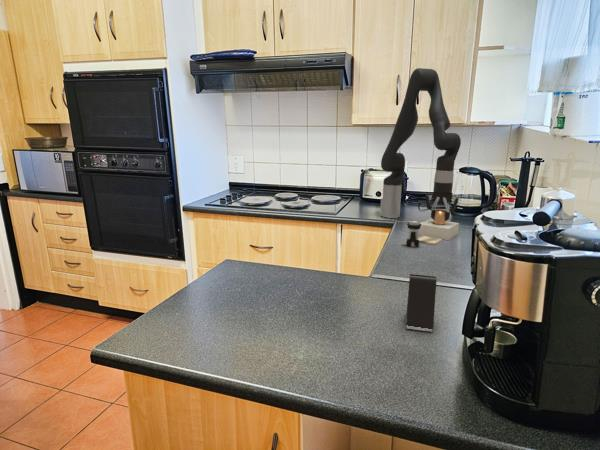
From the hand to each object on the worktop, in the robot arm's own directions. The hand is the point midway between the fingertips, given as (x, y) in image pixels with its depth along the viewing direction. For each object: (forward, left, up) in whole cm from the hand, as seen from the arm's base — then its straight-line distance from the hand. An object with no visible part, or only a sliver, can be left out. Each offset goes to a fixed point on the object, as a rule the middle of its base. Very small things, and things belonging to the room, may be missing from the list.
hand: (439, 219), depth 170 cm
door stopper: (+26, -82, -7) cm, 87 cm away
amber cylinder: (0, 0, -6) cm, 6 cm away
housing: (0, 0, -7) cm, 7 cm away
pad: (+1, -13, -7) cm, 15 cm away
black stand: (-2, -24, -7) cm, 25 cm away
